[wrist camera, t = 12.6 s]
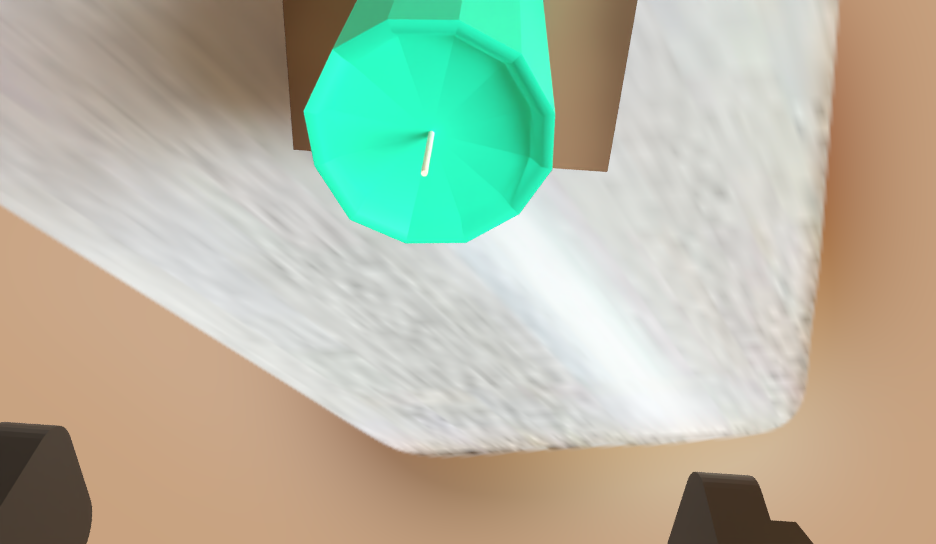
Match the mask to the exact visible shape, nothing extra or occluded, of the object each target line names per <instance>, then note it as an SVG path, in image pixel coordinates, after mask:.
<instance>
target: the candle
mask: <svg viewBox="0 0 936 544" xmlns="http://www.w3.org/2000/svg"><path fill="white" fill-rule="evenodd" d="M304 116H305V121H306V126H307V131H308V136H309V141H310V146H311V151H312V156H313V161H314V165H315V167H316V169H317V170H318V172H319V173H320V175H321V176H322V178H323V179H324V181H325V183H326V184H327V186H328V187H329V189H330V190H331V192H332V193H333V195H334V196H335V198H336V199H337V201H338V202H339V204H340V205H341V207H342V208H343V210H344V212H345V213H346V215H347V216H348V218H349V219H350V220H352V221H354V222H357V223H359V224H361V225H364V226H366V227H368V228H371V229H373V230H375V231H378V232H380V233H382V234H385V235H387V236H390V237H392V238H394V239H397V240H399V241H401V242H404V243H467V242H468V241H470V240H472V239H474V238H476V237H478V236H480V235H481V234H483V233H485V232H487V231H489V230H491V229H492V228H494V227H496V226H498V225H500V224H502V223H504V222H505V221H507V220H509V219H511V218H513V217H515V216H517V215H518V214H520V212H521V211H522V210H523V208H524V207H525V205H526V204H527V203H528V201H529V200H530V199H531V197H532V196H533V195H534V193H535V192H536V191H537V189H538V188H539V187H540V185H541V184H542V183H543V181H544V180H545V179H546V177H547V176H548V175H549V173H550V172H551V171H552V166H553V147H554V128H555V107H554V97H553V88H552V79H551V70H550V60H549V51H548V42H547V33H546V23H545V14H544V5H543V0H357V1H356V3H355V5H354V7H353V9H352V11H351V13H350V15H349V17H348V19H347V21H346V23H345V25H344V27H343V29H342V31H341V33H340V35H339V37H338V39H337V41H336V43H335V45H334V47H333V49H332V51H331V53H330V56H329V58H328V60H327V62H326V64H325V66H324V68H323V71H322V73H321V75H320V77H319V79H318V81H317V83H316V86H315V88H314V90H313V92H312V94H311V96H310V98H309V101H308V103H307V105H306V107H305V109H304Z"/></svg>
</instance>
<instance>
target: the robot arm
mask: <svg viewBox="0 0 936 544" xmlns="http://www.w3.org/2000/svg"><path fill="white" fill-rule="evenodd" d="M91 522H92V505H91V500H90V497H89V494H88V490H87V487H86V484H85V481H84V478H83V475H82V472H81V469H80V466H79V462H78V459H77V456H76V453H75V450H74V447H73V444H72V440H71V437H70V435H69V433H68V431H67V430H66V429H65V428H64V427H62V426H54V425H40V424H25V423H11V422H1V423H0V544H86V543H87V541H88V537H89V533H90V528H91ZM668 544H813V543H812V541H811V540H810V539H809V538H808V537H807V535H806V534H805V533H804V532H803V530H802V529H801V528H800V527H799V525H798V524H797V523H796V522H786V521H771V520H770V517H769V513H768V511H767V507H766V504H765V501H764V498H763V495H762V492H761V489H760V486H759V484H758V482H757V481H756V480H755V478H754V477H752V476H748V475H733V474H718V473H704V472H693V473H692V474H691V475H690V476H689V478H688V481H687V484H686V487H685V491H684V493H683V497H682V500H681V503H680V506H679V509H678V512H677V515H676V519H675V522H674V525H673V528H672V531H671V534H670V537H669V540H668Z"/></svg>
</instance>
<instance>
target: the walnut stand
mask: <svg viewBox="0 0 936 544" xmlns="http://www.w3.org/2000/svg"><path fill="white" fill-rule="evenodd" d="M356 1H357V0H283V12H284V26H285V40H286V53H287V67H288V80H289V94H290V107H291V121H292V135H293V148H294V150H307V151H311V146H310V141H309V136H308V131H307V126H306V121H305V116H304V109H305V107H306V105H307V103H308V101H309V98H310V96H311V94H312V92H313V90H314V88H315V86H316V83H317V81H318V79H319V77H320V75H321V73H322V71H323V68H324V66H325V64H326V62H327V60H328V58H329V56H330V53H331V51H332V49H333V47H334V45H335V43H336V41H337V39H338V37H339V35H340V33H341V31H342V29H343V27H344V25H345V23H346V21H347V19H348V17H349V15H350V13H351V11H352V9H353V7H354V5H355V3H356ZM543 5H544V14H545V23H546V33H547V42H548V51H549V60H550V70H551V79H552V88H553V97H554V107H555V128H554V147H553V166H552V168H560V169H574V170H588V171H602V172H607V171H608V165H609V159H610V153H611V148H612V142H613V136H614V131H615V125H616V119H617V114H618V108H619V102H620V97H621V91H622V85H623V80H624V74H625V68H626V62H627V57H628V51H629V45H630V40H631V34H632V28H633V23H634V17H635V11H636V6H637V0H543Z"/></svg>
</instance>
